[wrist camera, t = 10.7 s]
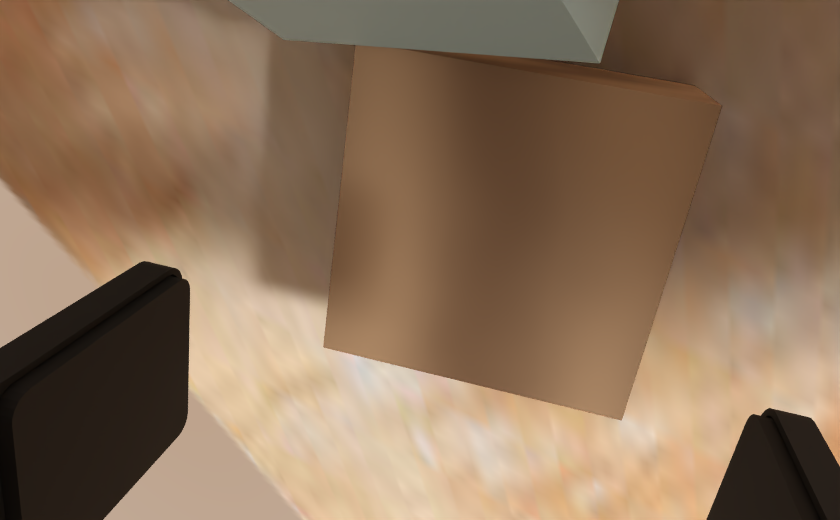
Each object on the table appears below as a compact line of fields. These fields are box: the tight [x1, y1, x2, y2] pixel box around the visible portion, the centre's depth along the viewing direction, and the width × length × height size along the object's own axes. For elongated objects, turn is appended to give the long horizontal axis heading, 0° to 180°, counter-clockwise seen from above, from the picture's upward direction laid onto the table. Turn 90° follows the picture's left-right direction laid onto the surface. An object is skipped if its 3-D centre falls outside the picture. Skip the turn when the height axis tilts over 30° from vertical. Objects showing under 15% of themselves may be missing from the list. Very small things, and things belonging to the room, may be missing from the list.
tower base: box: [323, 45, 722, 420], centre depth 20 cm, size 9×9×4 cm
